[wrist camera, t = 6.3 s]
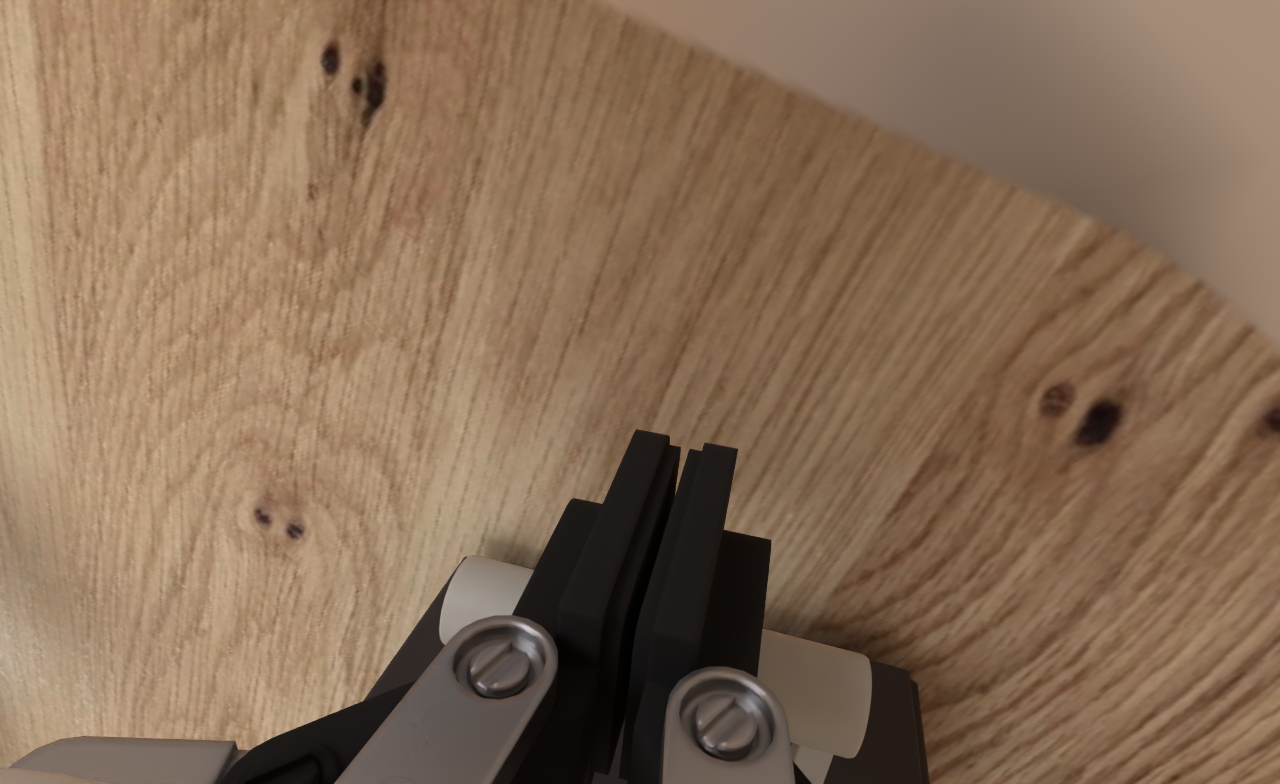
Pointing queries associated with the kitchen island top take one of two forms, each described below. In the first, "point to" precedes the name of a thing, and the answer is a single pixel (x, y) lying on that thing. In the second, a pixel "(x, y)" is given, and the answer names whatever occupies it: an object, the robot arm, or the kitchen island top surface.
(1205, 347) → the kitchen island top surface
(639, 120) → the kitchen island top surface
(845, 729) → the drawer
